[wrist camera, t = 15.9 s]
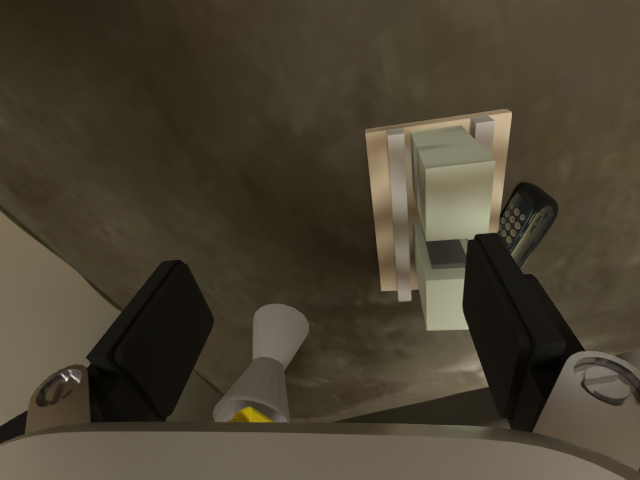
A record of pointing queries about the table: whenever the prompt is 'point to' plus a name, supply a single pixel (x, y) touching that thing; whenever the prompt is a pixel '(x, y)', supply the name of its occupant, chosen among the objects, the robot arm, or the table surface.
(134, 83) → the table surface
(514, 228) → the mobile phone
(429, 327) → the pale green tall block
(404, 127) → the rail board
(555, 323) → the robot arm
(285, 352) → the lava lamp
